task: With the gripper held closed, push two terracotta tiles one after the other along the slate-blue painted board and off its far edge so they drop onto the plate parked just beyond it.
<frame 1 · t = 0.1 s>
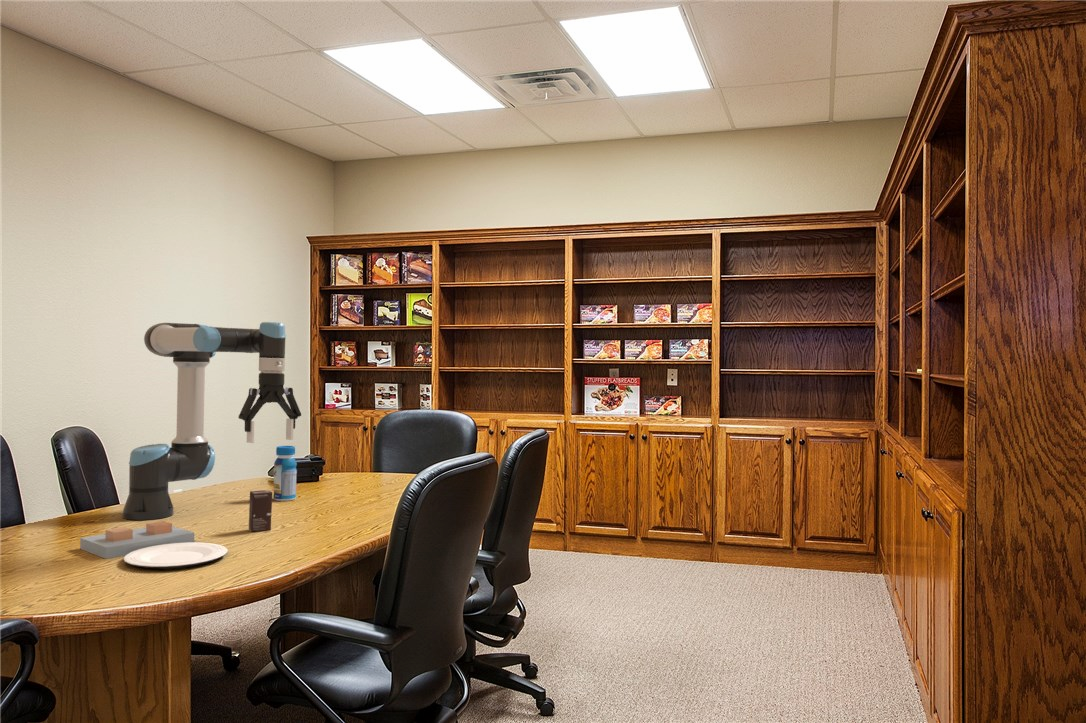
hand: (270, 441, 239), 28 cm above the table, fingers open, 13 cm apart
board: (138, 545, 218), on the table
tile a: (159, 532, 222), point 3 cm above the table, touching board
beverage bottle: (284, 499, 292), on the table
tile b: (119, 538, 213), point 3 cm above the table, touching board
plate: (176, 561, 205), on the table
box: (260, 530, 241), on the table
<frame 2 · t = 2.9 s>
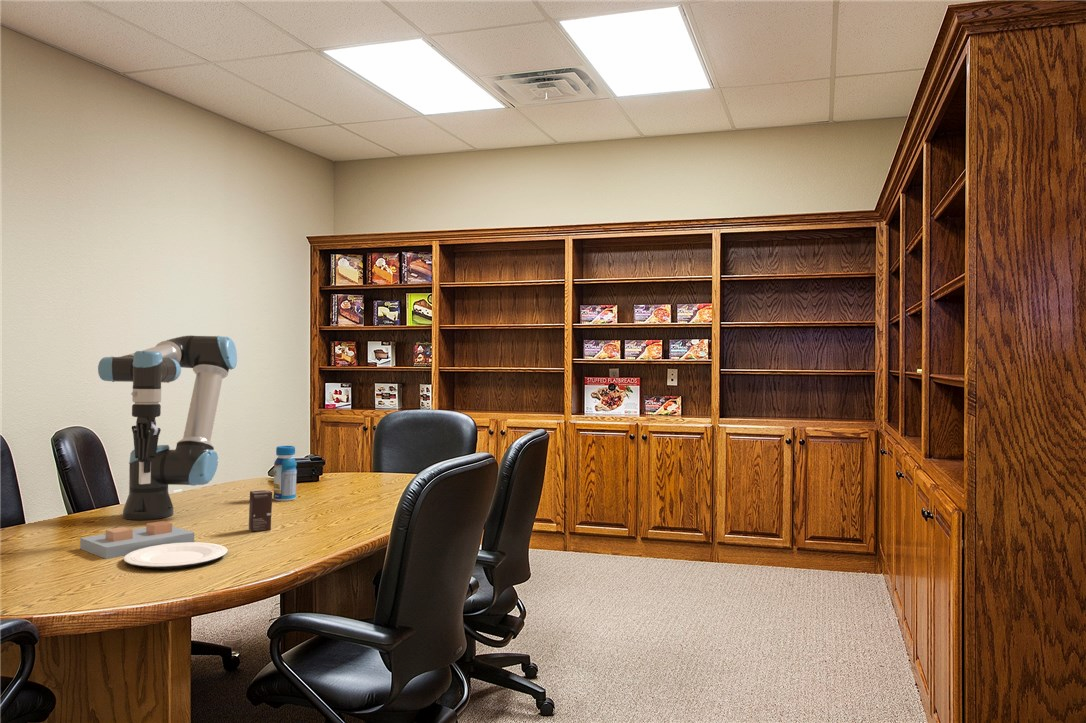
hand: (144, 483, 227), 16 cm above the table, fingers closed
nothing on the table moved.
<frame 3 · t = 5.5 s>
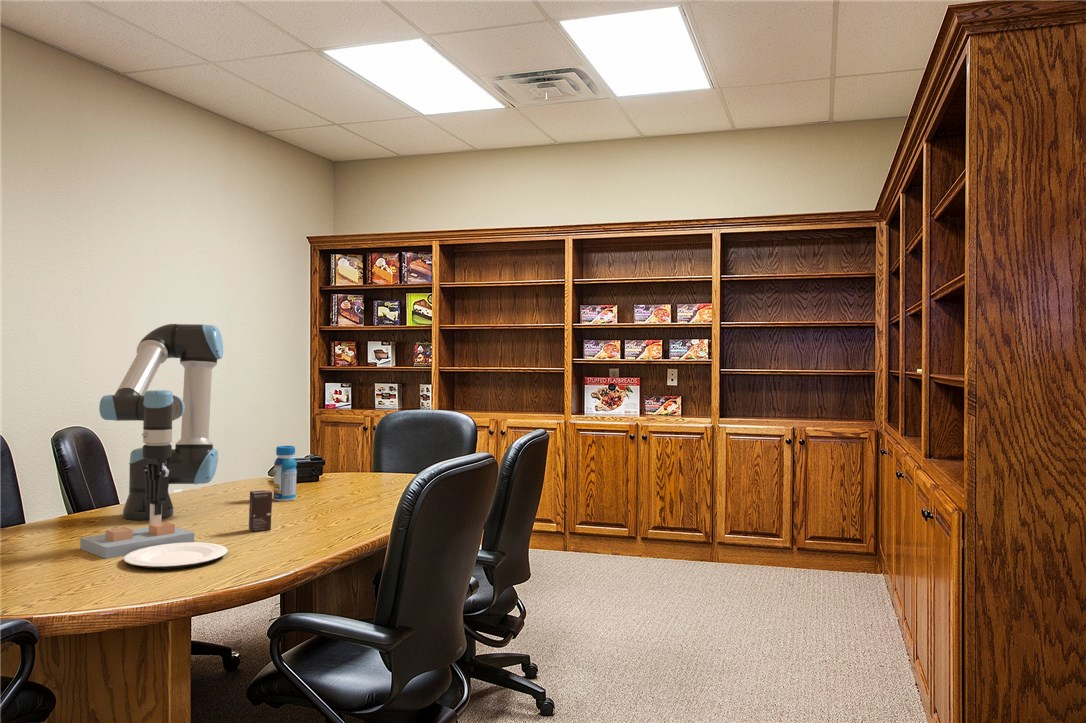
hand: (155, 525, 223), 5 cm above the table, fingers closed
tile a: (161, 533, 221), point 3 cm above the table, touching board, gripper
everything else where it was.
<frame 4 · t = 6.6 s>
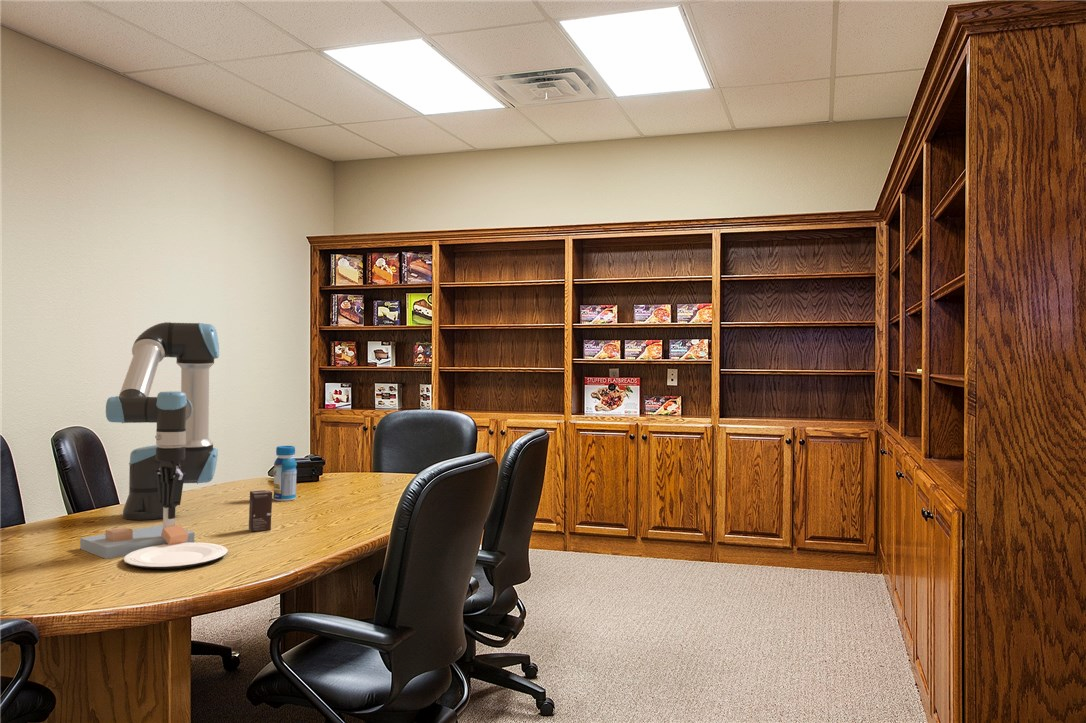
hand: (168, 529, 218), 5 cm above the table, fingers closed
tile a: (173, 538, 217), point 3 cm above the table, tilted 23°, touching board, gripper
everything else where it was.
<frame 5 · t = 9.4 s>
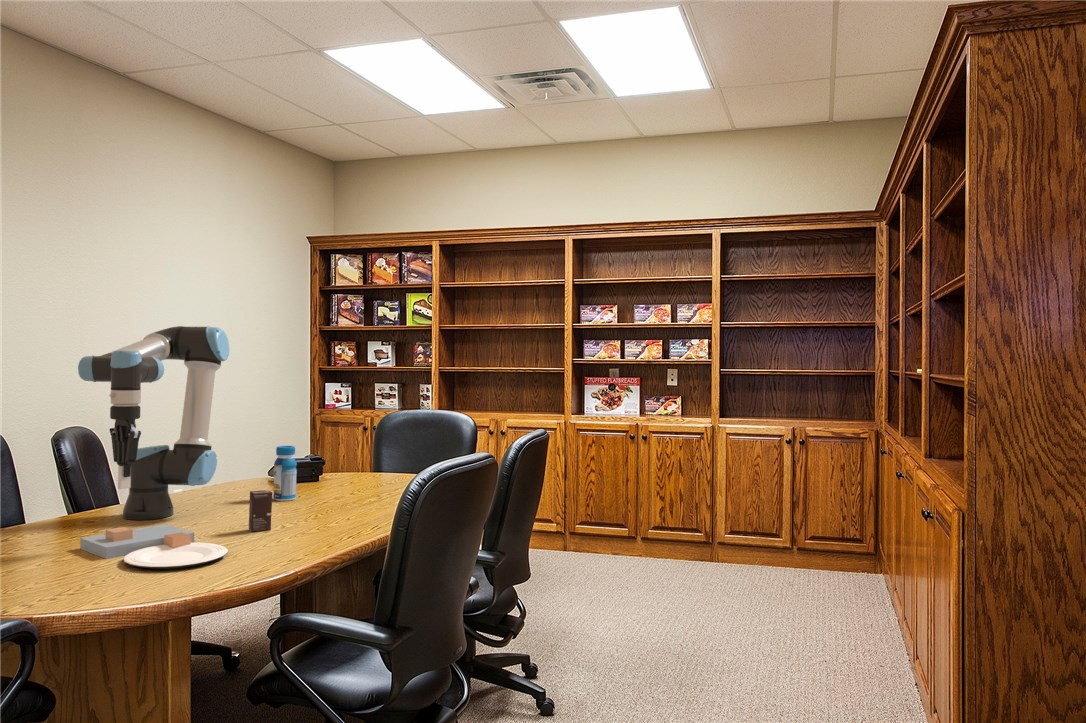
hand: (124, 488, 219), 16 cm above the table, fingers closed
tile a: (177, 544, 215), point 2 cm above the table, touching plate
plate: (176, 561, 205), on the table, touching tile a
everything else where it was.
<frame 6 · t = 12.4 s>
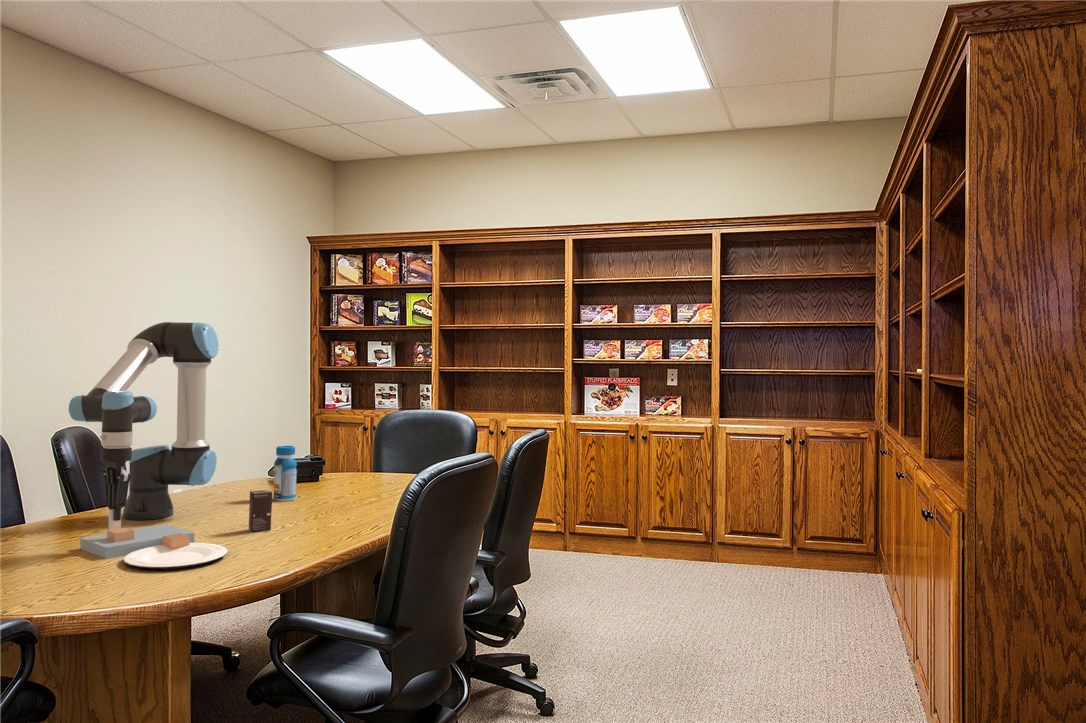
hand: (114, 531, 214), 5 cm above the table, fingers closed
tile b: (120, 539, 213), point 3 cm above the table, touching gripper
everything else where it was.
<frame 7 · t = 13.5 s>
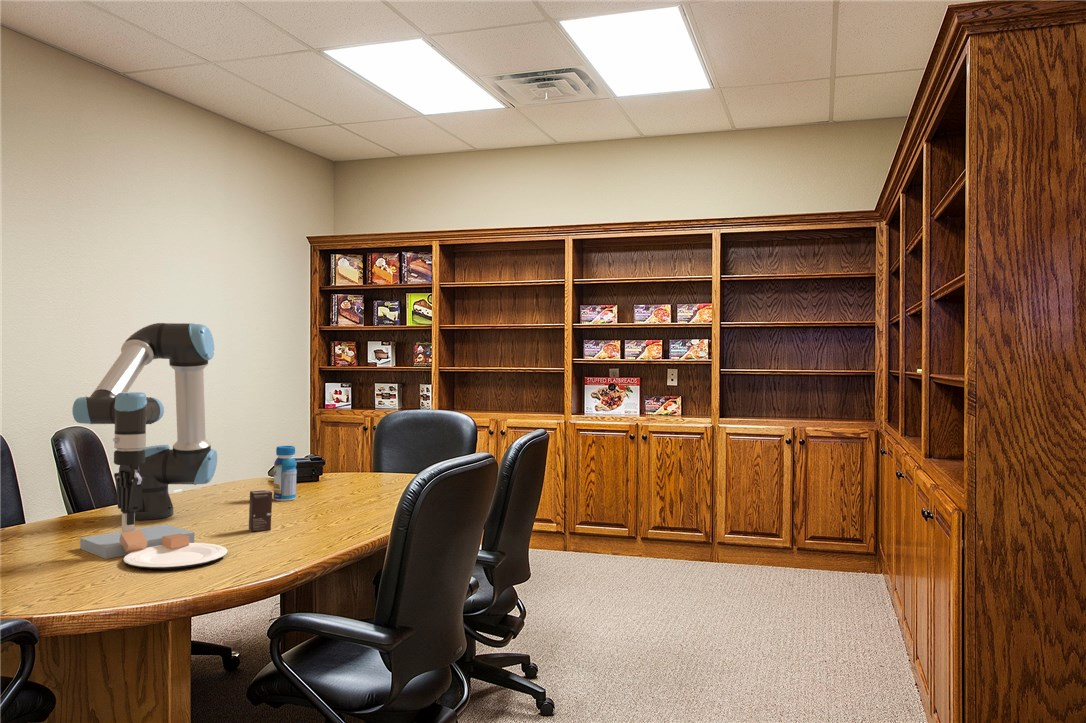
hand: (127, 536, 210), 5 cm above the table, fingers closed
tile b: (132, 544, 208), point 3 cm above the table, tilted 31°, touching gripper
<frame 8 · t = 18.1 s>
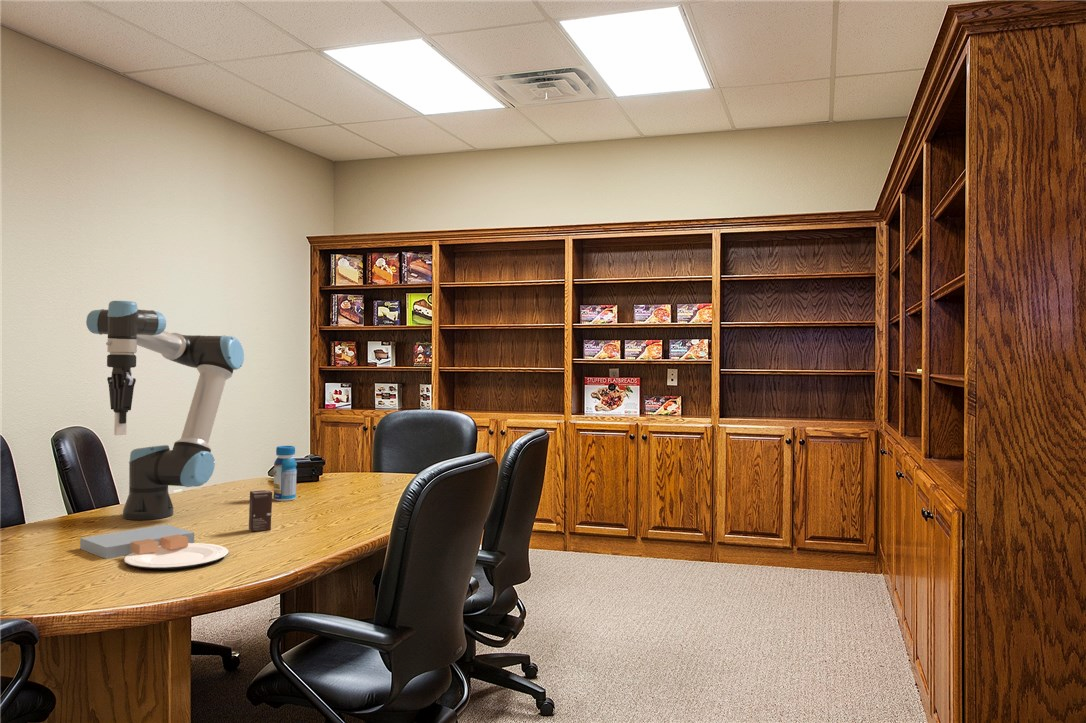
hand: (120, 434, 226), 30 cm above the table, fingers closed
tile a: (174, 546, 212), point 1 cm above the table, touching plate
tile b: (144, 551, 207), point 1 cm above the table, touching plate
plate: (177, 561, 205), on the table, touching tile a, tile b
everything else where it was.
at the end: tile a inside the target area (8.8 cm from its centre), point 1.4 cm above the table; tile b inside the target area (9.7 cm from its centre), point 1.4 cm above the table; plate moved 0.8 cm from its start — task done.
